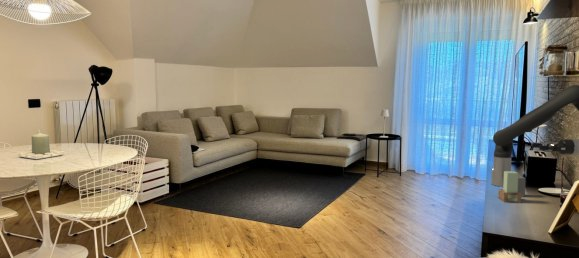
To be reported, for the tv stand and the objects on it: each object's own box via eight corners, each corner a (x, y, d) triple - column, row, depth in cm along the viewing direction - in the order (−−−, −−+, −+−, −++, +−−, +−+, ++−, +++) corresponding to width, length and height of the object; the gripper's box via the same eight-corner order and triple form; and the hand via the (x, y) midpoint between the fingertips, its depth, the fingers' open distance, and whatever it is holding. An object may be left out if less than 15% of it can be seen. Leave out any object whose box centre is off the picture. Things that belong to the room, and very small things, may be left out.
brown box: (504, 202, 201) (504, 193, 201) (498, 198, 209) (498, 189, 209) (521, 203, 200) (521, 193, 199) (514, 198, 208) (514, 189, 207)
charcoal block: (514, 196, 211) (515, 178, 210) (511, 194, 216) (511, 176, 215) (524, 196, 210) (525, 178, 209) (520, 194, 215) (521, 176, 214)
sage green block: (506, 192, 201) (507, 173, 201) (503, 190, 206) (504, 171, 205) (517, 192, 201) (518, 173, 200) (513, 190, 205) (514, 171, 205)
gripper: (564, 137, 203) (530, 137, 206) (579, 141, 189) (542, 140, 192) (563, 152, 204) (529, 151, 206) (579, 156, 190) (542, 156, 192)
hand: (535, 146), depth 199 cm, fingers open, 8 cm apart
